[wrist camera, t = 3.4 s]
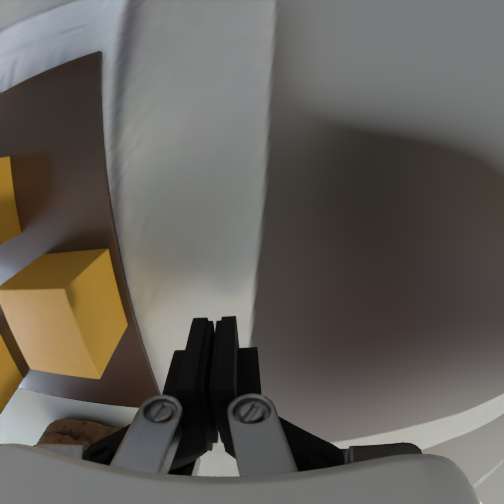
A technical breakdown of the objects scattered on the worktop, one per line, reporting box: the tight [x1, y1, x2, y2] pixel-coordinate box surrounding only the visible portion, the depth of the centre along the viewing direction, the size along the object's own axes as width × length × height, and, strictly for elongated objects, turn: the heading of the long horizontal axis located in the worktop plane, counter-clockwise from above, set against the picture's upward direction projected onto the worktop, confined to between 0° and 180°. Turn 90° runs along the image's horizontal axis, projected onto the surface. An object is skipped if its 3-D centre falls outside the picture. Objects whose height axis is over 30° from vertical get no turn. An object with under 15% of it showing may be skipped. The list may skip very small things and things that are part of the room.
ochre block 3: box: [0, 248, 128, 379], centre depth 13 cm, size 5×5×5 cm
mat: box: [0, 51, 161, 408], centre depth 15 cm, size 24×20×1 cm
